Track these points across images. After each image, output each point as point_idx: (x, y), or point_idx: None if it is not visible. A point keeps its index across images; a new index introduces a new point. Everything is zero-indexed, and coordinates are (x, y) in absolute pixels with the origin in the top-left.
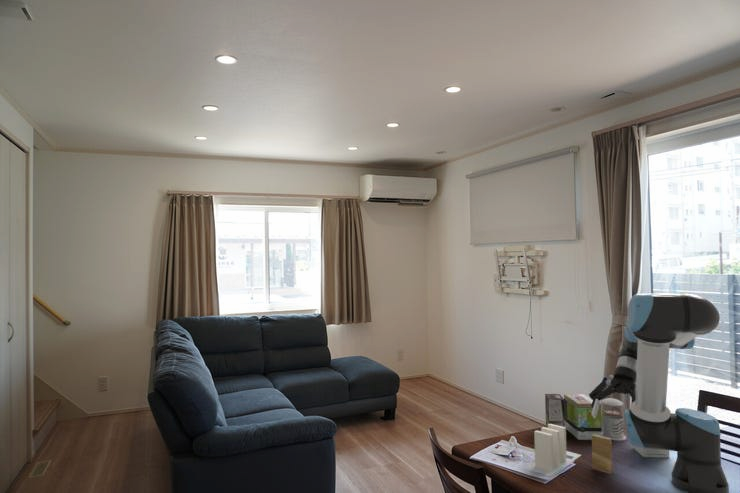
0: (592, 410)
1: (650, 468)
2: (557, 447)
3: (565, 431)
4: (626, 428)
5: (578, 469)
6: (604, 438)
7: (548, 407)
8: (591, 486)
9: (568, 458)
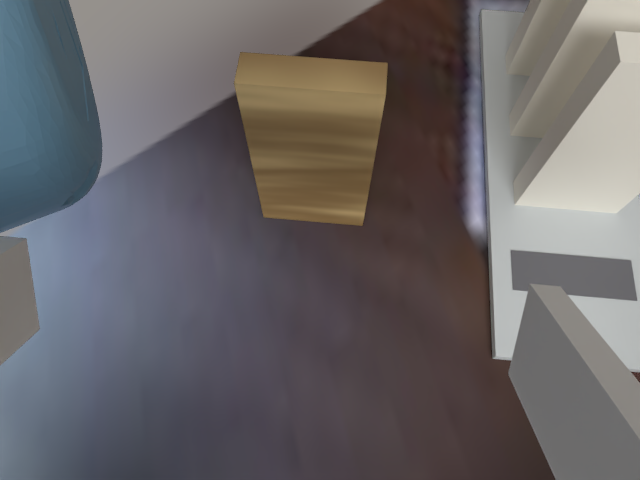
0: (580, 315)
1: (78, 455)
2: (551, 37)
3: (601, 78)
4: (93, 139)
5: (425, 170)
6: (282, 55)
7: None
8: (310, 45)
9: (527, 249)
